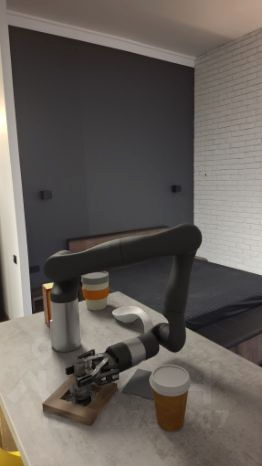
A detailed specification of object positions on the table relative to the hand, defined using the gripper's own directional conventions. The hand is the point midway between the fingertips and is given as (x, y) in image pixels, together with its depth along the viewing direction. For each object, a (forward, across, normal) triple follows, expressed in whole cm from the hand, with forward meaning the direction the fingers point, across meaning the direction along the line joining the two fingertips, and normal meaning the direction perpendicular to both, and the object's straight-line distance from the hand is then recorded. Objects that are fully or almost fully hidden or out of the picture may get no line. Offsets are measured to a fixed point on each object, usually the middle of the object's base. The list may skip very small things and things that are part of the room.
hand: (71, 377), depth 81 cm
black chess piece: (-2, 0, +8) cm, 8 cm away
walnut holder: (-2, 0, +8) cm, 8 cm away
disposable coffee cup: (-15, +20, +8) cm, 26 cm away
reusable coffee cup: (-37, -52, +8) cm, 64 cm away
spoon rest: (-39, -26, +8) cm, 48 cm away
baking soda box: (-17, -49, +8) cm, 52 cm away
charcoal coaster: (-20, +6, +8) cm, 22 cm away
